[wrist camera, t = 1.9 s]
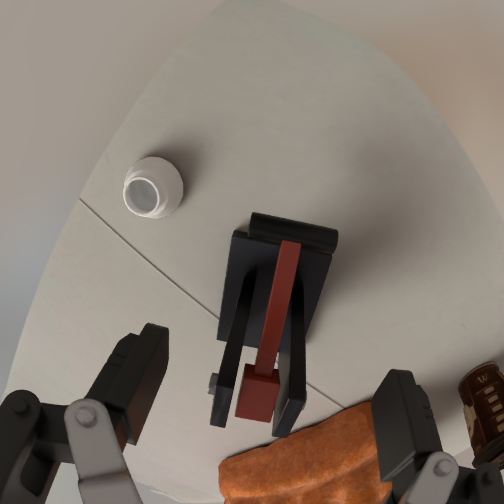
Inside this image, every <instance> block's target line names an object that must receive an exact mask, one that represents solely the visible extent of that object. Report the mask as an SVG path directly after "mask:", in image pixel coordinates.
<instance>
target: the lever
mask: <svg viewBox="0 0 504 504" xmlns="http://www.w3.org/2000/svg"><path fill="white" fill-rule="evenodd" d="M248 237H252V238H256V239H261V240H266V241H271V242H276V243H281V245H280V249H279V254H278V259H277V264H276V269H275V274H274V278H273V283H272V288H271V292H270V297H269V302H268V306H267V311H266V316H265V320H264V325H263V329H262V334H261V338H260V343H259V347H258V352H257V356H256V360H255V365H252V364H247V363H246V364H245V367H244V372H243V376H242V381H241V385H240V390H239V394H238V399H237V405H236V411H235V417H239V418H244V419H250V420H256V421H262V422H268V423H270V422H271V418H272V415H273V411H274V407H275V404H276V400H277V397H278V393H279V389H280V385H281V384H280V376H279V370H278V369H274V365H275V361H276V356H277V352H278V348H279V344H280V340H281V336H282V331H283V327H284V323H285V318H286V314H287V310H288V305H289V301H290V296H291V292H292V287H293V283H294V278H295V273H296V269H297V264H298V259H299V254H300V249H301V248H305V249H310V250H315V251H319V252H324V253H329V254H333V253H334V252H335V249H336V247H337V243H338V230H336V229H332V228H327V227H323V226H318V225H313V224H309V223H304V222H300V221H295V220H290V219H285V218H280V217H276V216H271V215H266V214H261V213H256V212H252V215H251V219H250V224H249V229H248Z"/></svg>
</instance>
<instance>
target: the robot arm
mask: <svg viewBox="0 0 504 504" xmlns="http://www.w3.org/2000/svg"><path fill="white" fill-rule="evenodd" d="M168 360H169V329H168V328H166V327H162V326H159V325H155V324H151V323H147V324H146V325H145V326H144V328H143V330H142V331H141V333H140V335H136V334H132V333H130V334H128V335H127V336H125V337H124V338H122V339H121V340H120V341H119V342H118V343H117V345H116V347H115V348H114V350H113V351H112V354H111V355H110V356H109V358H108V360H107V363H105V365H104V366H103V368H102V370H101V371H100V373H99V375H98V376H97V378H96V380H95V381H94V383H93V385H92V387H91V388H90V390H89V392H88V393H87V395H86V396H85V397H84V398H83V399H79V400H76V401H74V402H73V403H71V404H70V405H55V404H47V403H40V401H39V399H38V397H37V396H36V395H35V394H34V393H32V392H30V391H27V390H17V391H14V392H12V393H10V394H9V395H8V396H7V397H6V398H5V399H4V401H3V403H2V404H1V406H0V504H45V501H46V499H47V496H48V494H49V491H50V488H51V486H52V483H53V481H54V478H55V476H56V473H57V471H58V468H59V466H60V464H61V462H65V463H72V464H75V465H76V470H77V473H78V477H79V481H78V487H79V492H80V495H81V498H82V501H83V504H143V502H142V500H141V498H140V495H139V493H138V491H137V489H136V486H135V484H134V482H133V479H132V477H131V474H130V472H129V470H128V467H127V465H126V462H125V459H124V457H123V454H122V453H123V451H124V448H125V446H126V444H127V443H129V444H132V445H135V446H136V444H137V441H138V439H139V436H140V434H141V431H142V429H143V426H144V424H145V421H146V419H147V417H148V414H149V412H150V409H151V407H152V404H153V402H154V399H155V397H156V395H157V392H158V390H159V387H160V385H161V383H162V380H163V378H164V375H165V373H166V370H167V366H168ZM430 407H431V406H430V403H429V400H428V396H427V394H426V393H425V392H424V390H423V389H422V388H421V386H420V385H416V383H415V380H414V377H413V374H412V372H411V371H408V370H397V369H391V370H390V371H389V372H388V374H387V375H386V377H385V378H384V380H383V381H382V383H381V385H380V386H379V388H378V389H377V391H376V392H375V394H374V396H373V398H372V402H371V413H372V419H373V426H374V433H375V440H376V447H377V455H378V463H379V471H380V481H381V482H392V488H391V489H389V491H388V492H387V494H386V495H385V497H384V498H383V500H382V501H381V503H380V504H504V484H503V479H502V475H501V472H500V470H499V469H498V467H497V466H495V465H494V464H492V463H489V462H486V463H483V464H481V465H480V466H478V467H477V468H476V469H470V468H466V467H461V466H458V464H457V462H456V460H455V459H454V458H453V456H451V455H450V454H448V453H446V452H443V449H442V445H441V441H440V437H439V434H438V430H437V427H436V423H435V420H434V418H433V413H432V409H430Z"/></svg>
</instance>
